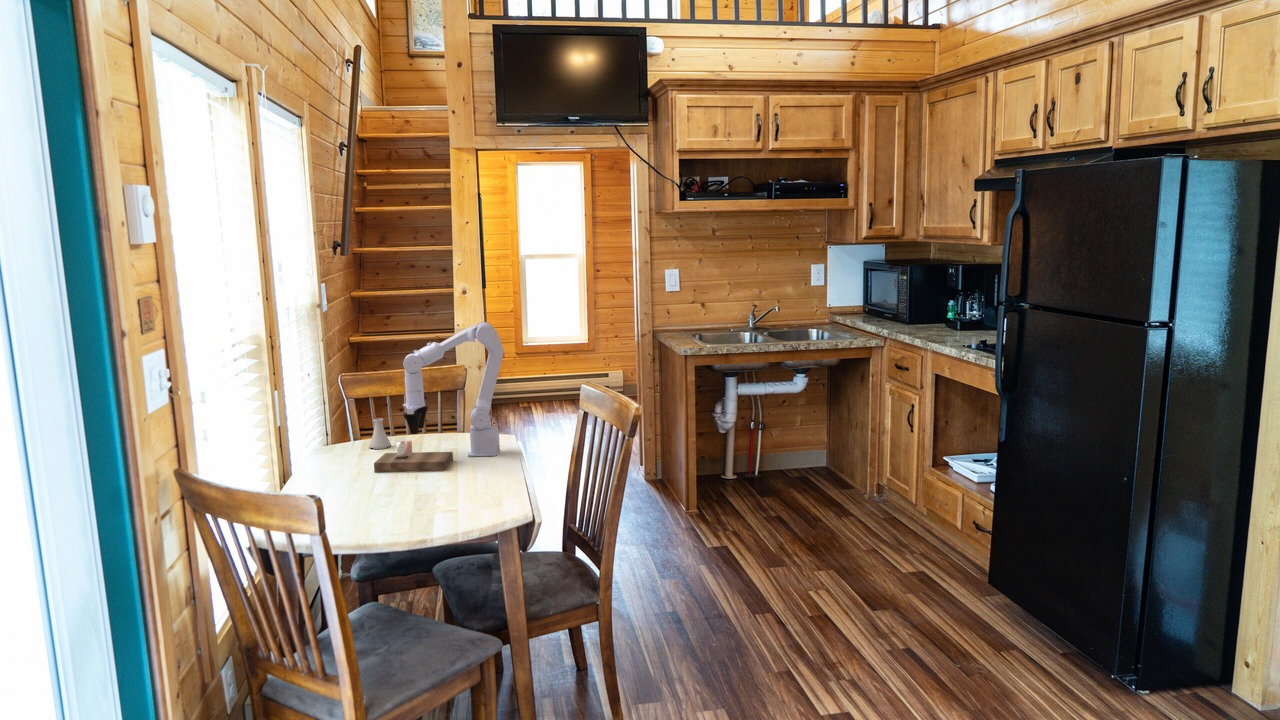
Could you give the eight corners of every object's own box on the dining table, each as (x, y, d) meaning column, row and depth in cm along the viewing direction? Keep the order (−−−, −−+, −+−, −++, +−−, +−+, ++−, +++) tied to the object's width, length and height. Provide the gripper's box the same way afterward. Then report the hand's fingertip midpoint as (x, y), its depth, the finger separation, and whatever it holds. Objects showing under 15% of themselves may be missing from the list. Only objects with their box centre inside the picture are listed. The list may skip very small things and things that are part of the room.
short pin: (413, 453, 283) (412, 440, 283) (411, 455, 281) (410, 442, 280) (406, 453, 283) (405, 440, 283) (404, 455, 281) (403, 442, 280)
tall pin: (406, 465, 269) (405, 441, 267) (405, 467, 266) (403, 443, 265) (399, 465, 268) (397, 441, 267) (397, 467, 266) (395, 443, 265)
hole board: (453, 460, 273) (452, 451, 273) (444, 470, 261) (444, 461, 261) (385, 462, 273) (385, 453, 273) (374, 472, 261) (373, 463, 261)
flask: (365, 449, 291) (363, 421, 289) (377, 444, 297) (375, 416, 296) (383, 450, 289) (381, 422, 287) (395, 445, 295) (393, 417, 294)
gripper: (408, 387, 280) (410, 426, 282) (396, 395, 266) (399, 436, 268) (429, 386, 280) (431, 425, 282) (418, 394, 266) (421, 436, 268)
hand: (417, 431), depth 275 cm, fingers open, 7 cm apart
